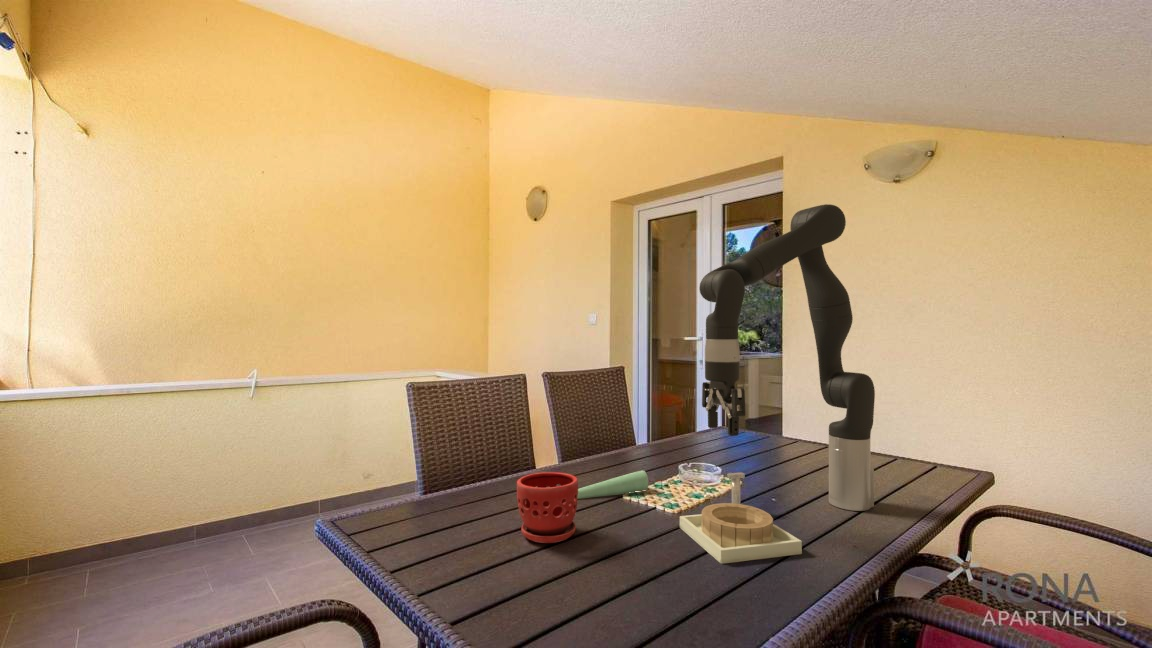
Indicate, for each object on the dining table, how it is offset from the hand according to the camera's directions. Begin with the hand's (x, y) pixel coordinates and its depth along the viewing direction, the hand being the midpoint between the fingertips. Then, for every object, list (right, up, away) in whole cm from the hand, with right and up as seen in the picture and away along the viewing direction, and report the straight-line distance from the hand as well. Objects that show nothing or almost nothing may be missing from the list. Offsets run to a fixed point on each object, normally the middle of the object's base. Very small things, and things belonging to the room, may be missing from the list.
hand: (722, 431), depth 113 cm
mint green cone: (-27, -22, +20) cm, 40 cm away
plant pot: (-39, -21, -5) cm, 45 cm away
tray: (+1, -21, -8) cm, 22 cm away
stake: (+6, -21, +9) cm, 24 cm away
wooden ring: (+1, -20, -8) cm, 22 cm away
